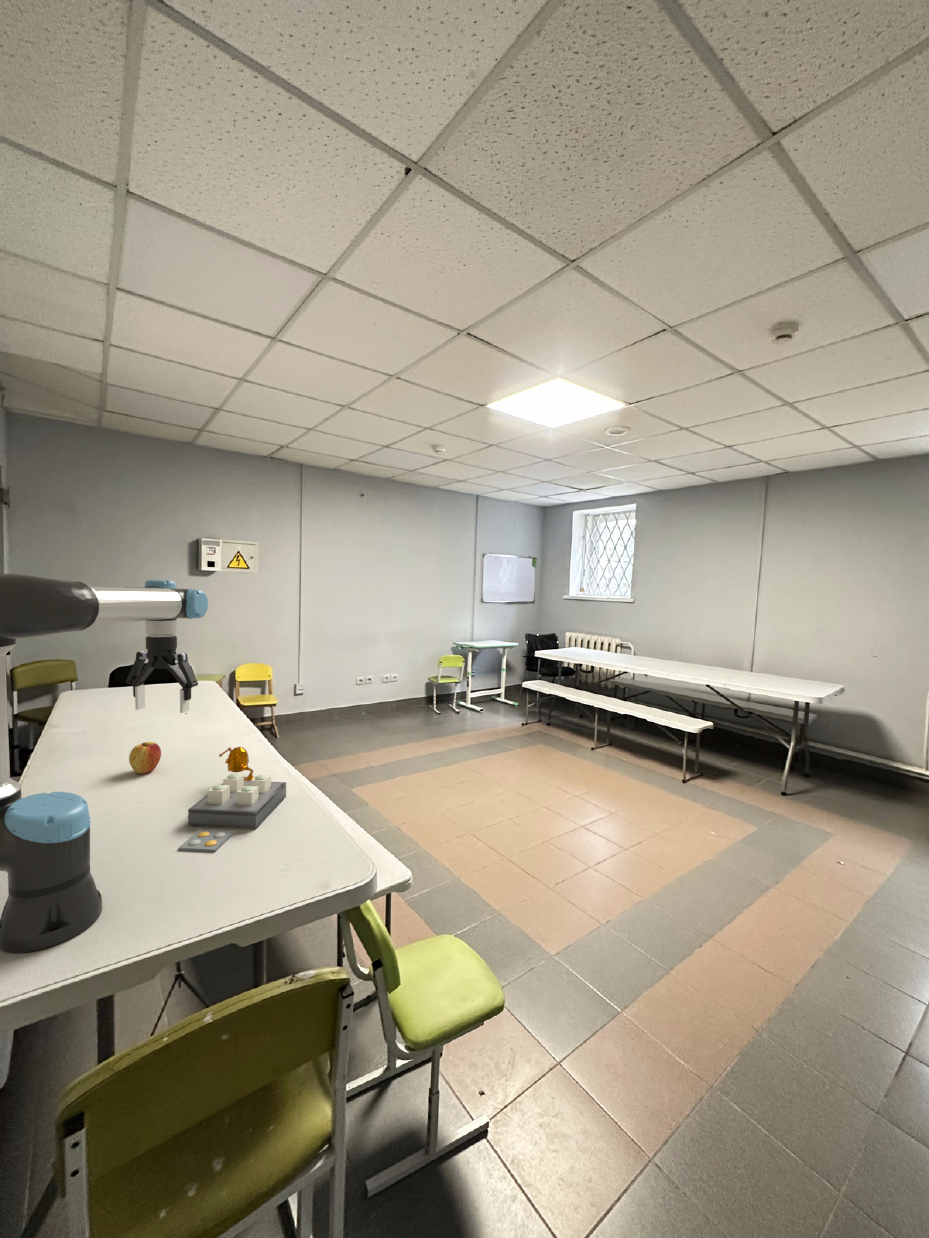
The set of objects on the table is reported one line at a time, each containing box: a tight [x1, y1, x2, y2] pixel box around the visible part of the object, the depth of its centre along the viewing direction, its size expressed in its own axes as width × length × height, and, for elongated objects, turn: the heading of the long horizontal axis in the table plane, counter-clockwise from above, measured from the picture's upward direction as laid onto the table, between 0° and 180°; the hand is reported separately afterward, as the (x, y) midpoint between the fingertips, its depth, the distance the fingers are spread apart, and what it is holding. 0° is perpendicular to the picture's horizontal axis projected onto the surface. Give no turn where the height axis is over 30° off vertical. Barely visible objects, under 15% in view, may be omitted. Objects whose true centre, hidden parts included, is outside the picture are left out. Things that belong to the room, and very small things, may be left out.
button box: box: [187, 780, 287, 830], centre depth 140 cm, size 20×18×4 cm
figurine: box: [218, 746, 255, 781], centre depth 158 cm, size 8×11×12 cm
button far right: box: [251, 774, 272, 794], centre depth 143 cm, size 4×4×4 cm
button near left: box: [207, 784, 230, 805], centre depth 136 cm, size 4×4×4 cm
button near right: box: [237, 786, 258, 806], centre depth 135 cm, size 4×4×4 cm
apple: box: [128, 741, 162, 775], centre depth 165 cm, size 9×9×10 cm
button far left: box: [222, 773, 245, 792], centre depth 144 cm, size 4×4×4 cm
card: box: [177, 828, 235, 853], centre depth 123 cm, size 9×9×1 cm
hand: (162, 710), depth 140 cm, fingers open, 13 cm apart
